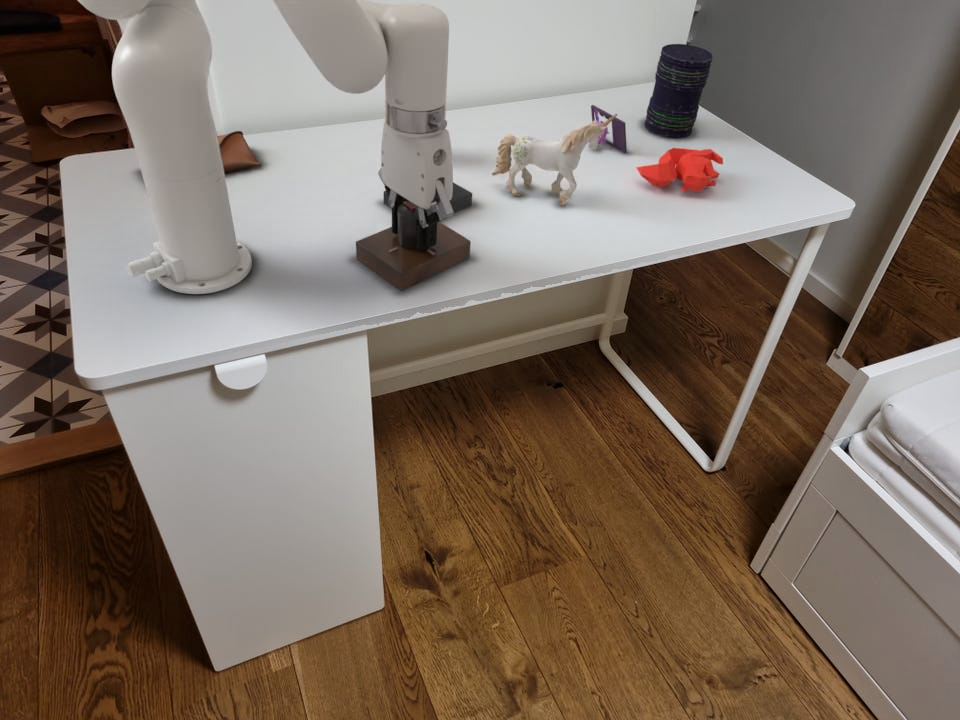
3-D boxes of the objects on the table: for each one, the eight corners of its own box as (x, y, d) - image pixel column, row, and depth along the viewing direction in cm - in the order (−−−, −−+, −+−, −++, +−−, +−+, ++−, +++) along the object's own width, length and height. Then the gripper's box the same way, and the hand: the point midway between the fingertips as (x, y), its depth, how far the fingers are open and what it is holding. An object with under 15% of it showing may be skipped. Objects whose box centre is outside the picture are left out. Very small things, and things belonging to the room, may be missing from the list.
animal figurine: (624, 178, 128) (630, 152, 125) (684, 162, 135) (691, 136, 131) (669, 208, 121) (676, 181, 118) (730, 190, 128) (739, 163, 124)
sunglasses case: (156, 189, 113) (140, 146, 111) (148, 193, 118) (133, 152, 117) (265, 164, 121) (252, 124, 120) (253, 169, 127) (240, 130, 125)
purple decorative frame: (628, 120, 131) (595, 102, 136) (606, 134, 130) (574, 116, 135) (629, 150, 136) (597, 132, 141) (609, 164, 135) (577, 145, 140)
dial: (436, 242, 102) (437, 209, 99) (411, 253, 100) (412, 220, 96) (415, 228, 105) (416, 196, 101) (391, 239, 102) (390, 206, 99)
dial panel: (401, 291, 98) (401, 272, 96) (356, 259, 103) (355, 240, 101) (469, 258, 106) (471, 240, 103) (424, 229, 111) (425, 211, 108)
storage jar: (637, 117, 149) (654, 42, 139) (683, 118, 150) (703, 44, 140) (651, 138, 142) (670, 61, 132) (699, 139, 143) (721, 63, 133)
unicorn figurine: (609, 209, 119) (625, 132, 111) (492, 204, 118) (499, 125, 109) (602, 188, 125) (617, 113, 116) (490, 182, 123) (497, 106, 114)
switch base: (420, 227, 111) (420, 204, 108) (383, 203, 116) (383, 181, 113) (471, 205, 117) (473, 183, 115) (434, 183, 122) (435, 161, 119)
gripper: (483, 130, 88) (474, 256, 100) (396, 86, 96) (397, 206, 109) (437, 146, 84) (433, 275, 96) (350, 98, 92) (356, 222, 104)
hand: (414, 237), depth 102 cm, fingers closed on dial, 4 cm apart
